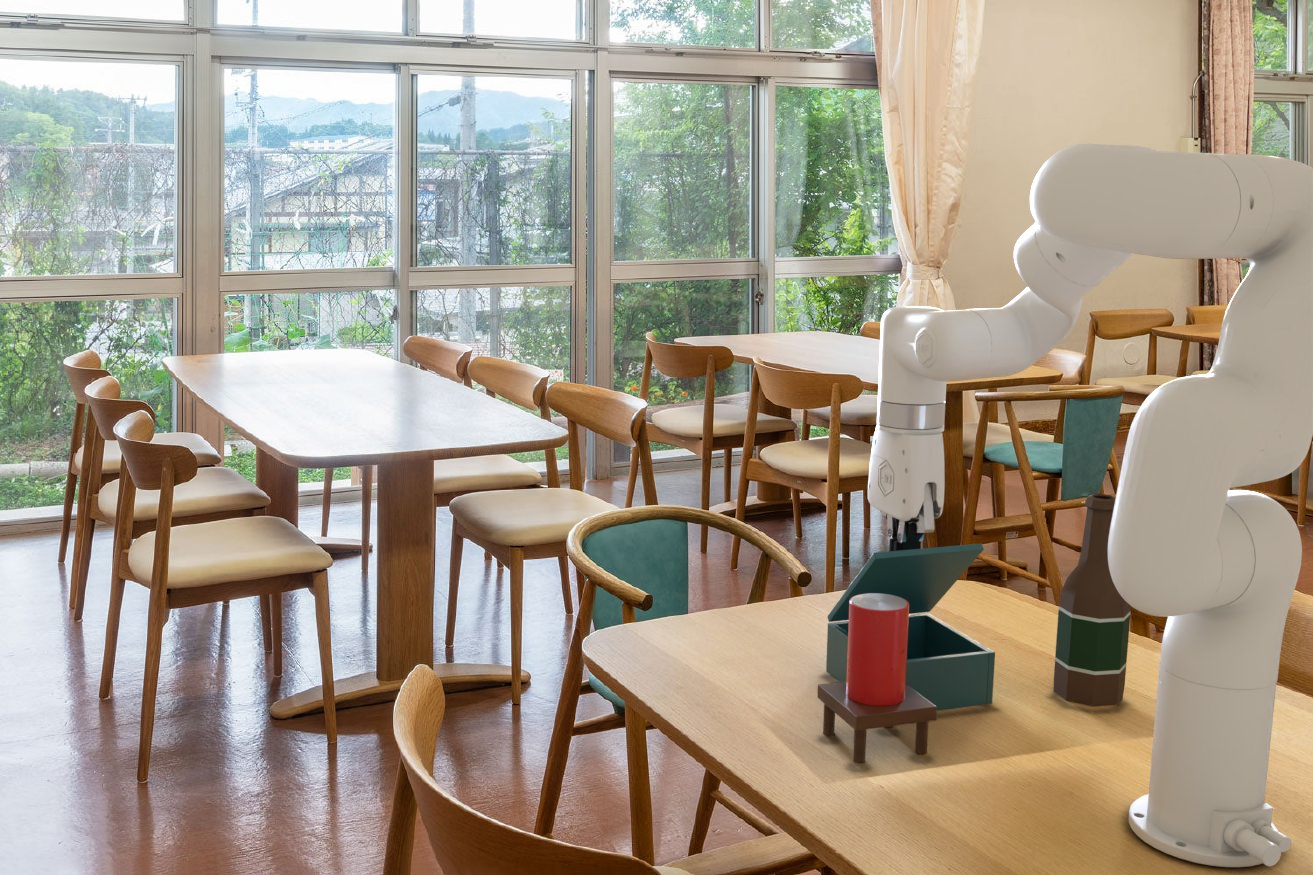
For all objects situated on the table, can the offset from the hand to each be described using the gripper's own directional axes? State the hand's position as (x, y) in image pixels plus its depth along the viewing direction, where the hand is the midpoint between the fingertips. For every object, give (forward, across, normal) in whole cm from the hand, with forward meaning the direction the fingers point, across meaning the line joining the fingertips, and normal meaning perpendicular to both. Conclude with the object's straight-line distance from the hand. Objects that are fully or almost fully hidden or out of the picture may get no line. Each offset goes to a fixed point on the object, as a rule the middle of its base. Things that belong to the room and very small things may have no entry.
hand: (903, 572), depth 147 cm
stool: (+14, +15, -11) cm, 23 cm away
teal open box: (+14, +2, 0) cm, 14 cm away
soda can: (+8, +15, -11) cm, 20 cm away
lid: (+2, 0, 0) cm, 2 cm away
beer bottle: (+14, +10, +19) cm, 26 cm away
